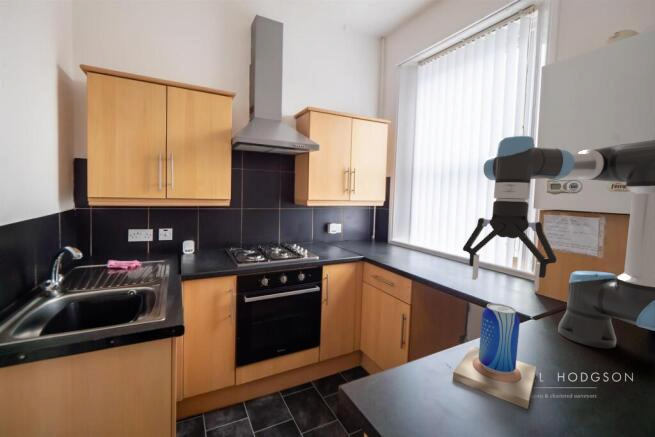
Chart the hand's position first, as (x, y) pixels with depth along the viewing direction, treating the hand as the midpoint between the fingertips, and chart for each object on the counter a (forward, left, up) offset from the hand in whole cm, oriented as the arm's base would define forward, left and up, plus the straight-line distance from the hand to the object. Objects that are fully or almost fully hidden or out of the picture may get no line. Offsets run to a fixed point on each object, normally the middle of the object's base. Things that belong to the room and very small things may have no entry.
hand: (503, 284), depth 77 cm
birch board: (0, 0, -25) cm, 25 cm away
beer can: (0, 0, -22) cm, 22 cm away
